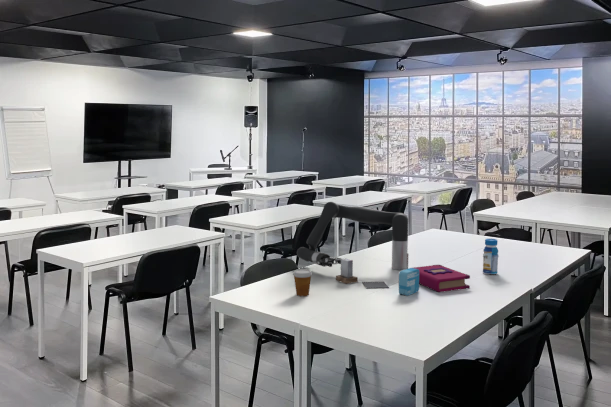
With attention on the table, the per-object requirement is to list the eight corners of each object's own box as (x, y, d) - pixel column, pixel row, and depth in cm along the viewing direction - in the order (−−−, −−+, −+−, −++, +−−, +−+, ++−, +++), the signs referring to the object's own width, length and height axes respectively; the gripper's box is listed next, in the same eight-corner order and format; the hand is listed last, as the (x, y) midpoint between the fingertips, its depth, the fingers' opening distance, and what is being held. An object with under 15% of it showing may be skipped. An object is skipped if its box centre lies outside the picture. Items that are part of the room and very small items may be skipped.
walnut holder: (335, 280, 308) (335, 275, 308) (346, 278, 312) (346, 273, 312) (347, 283, 300) (347, 279, 300) (357, 281, 304) (357, 277, 304)
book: (437, 293, 283) (437, 278, 282) (407, 280, 309) (407, 266, 308) (470, 288, 291) (471, 274, 290) (438, 276, 317) (438, 263, 316)
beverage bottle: (498, 275, 316) (500, 241, 314) (483, 274, 318) (484, 240, 316) (496, 272, 325) (498, 238, 322) (481, 271, 326) (482, 237, 324)
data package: (406, 296, 277) (406, 272, 275) (398, 294, 280) (398, 271, 278) (419, 291, 285) (419, 268, 284) (411, 289, 288) (412, 267, 287)
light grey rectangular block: (340, 280, 308) (340, 259, 306) (345, 279, 310) (345, 258, 308) (347, 282, 303) (347, 261, 301) (352, 281, 305) (352, 260, 303)
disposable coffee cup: (298, 298, 274) (298, 274, 273) (290, 293, 282) (289, 270, 281) (315, 295, 278) (315, 272, 277) (306, 291, 287) (306, 268, 285)
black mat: (384, 282, 304) (384, 281, 304) (388, 287, 292) (388, 287, 292) (362, 282, 303) (362, 281, 303) (366, 288, 291) (366, 287, 291)
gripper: (310, 254, 321) (327, 259, 307) (330, 251, 329) (347, 255, 315) (310, 266, 322) (327, 272, 308) (330, 263, 330) (347, 268, 316)
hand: (337, 264), depth 312 cm, fingers open, 8 cm apart
